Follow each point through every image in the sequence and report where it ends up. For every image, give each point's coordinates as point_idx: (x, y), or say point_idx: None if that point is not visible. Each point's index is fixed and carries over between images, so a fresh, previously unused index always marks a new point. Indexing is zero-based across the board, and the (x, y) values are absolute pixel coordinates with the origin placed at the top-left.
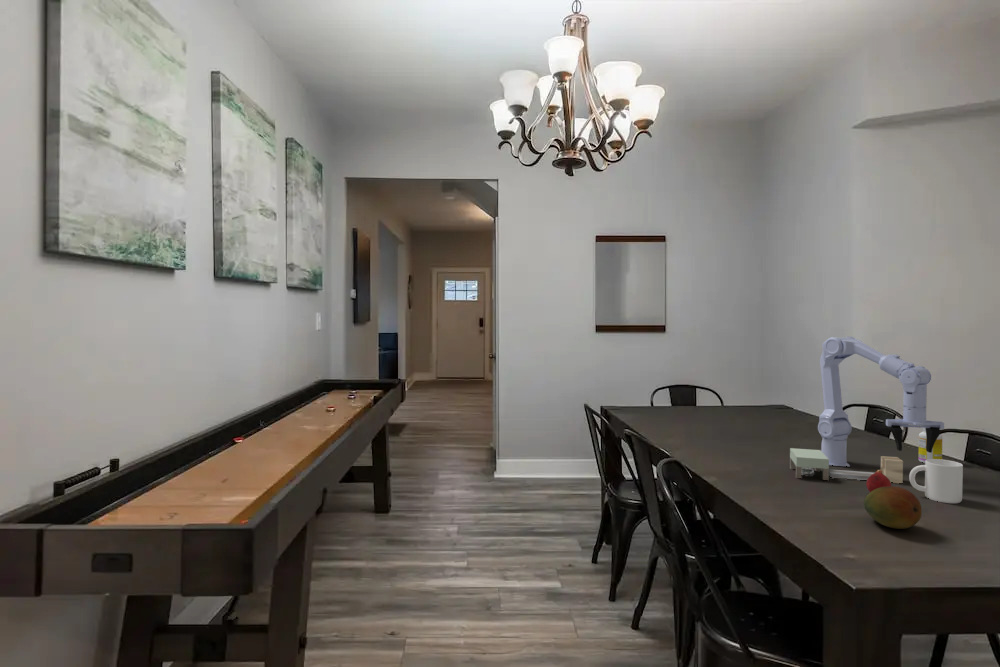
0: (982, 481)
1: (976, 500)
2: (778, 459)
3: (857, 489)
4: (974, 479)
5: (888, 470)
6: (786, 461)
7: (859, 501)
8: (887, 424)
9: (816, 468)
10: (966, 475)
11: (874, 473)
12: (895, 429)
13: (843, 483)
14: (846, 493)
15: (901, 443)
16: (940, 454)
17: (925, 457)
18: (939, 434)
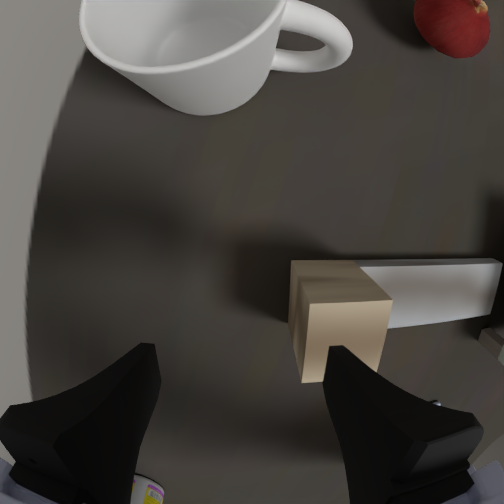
0: (41, 356)
1: (97, 97)
2: (497, 400)
3: (466, 129)
4: (55, 373)
5: (360, 277)
6: (493, 392)
7: None
8: (501, 474)
9: (493, 331)
10: None
11: (487, 15)
12: (479, 423)
13: (483, 199)
14: (491, 83)
15: (352, 370)
16: None
17: (149, 491)
18: (23, 403)
